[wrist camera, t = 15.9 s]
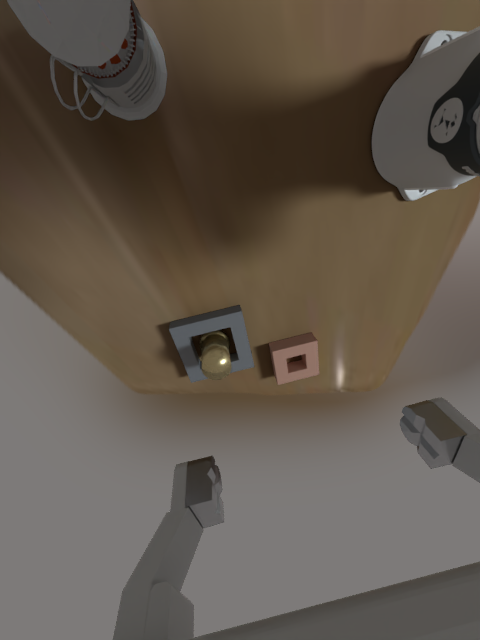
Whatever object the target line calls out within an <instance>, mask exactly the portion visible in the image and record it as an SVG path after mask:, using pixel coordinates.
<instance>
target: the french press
mask: <svg viewBox="0 0 480 640" xmlns="http://www.w3.org/2000/svg"><path fill="white" fill-rule="evenodd" d="M7 1H8V4H9V6H10V7H11V9H12V10H13V11H14V13H15V14H16V16H17V17H18V19H19V20H20V22H21V23H22V25H23V26H24V28H25V29H26V30H27V32H28V33H29V35H30V36H31V37H32V38H33V39H35V40H36V41H37V42H38V43H39V44H40V45H41V46H43V47H44V48H45V49H46V50H47V51H48V52H49V53H51V54H52V55H51V57H50V70H51V79H52V83H53V86H54V90H55V93H56V95H57V97H58V99H59V101H60V102H61V104H62V105H63V106H64V107H66V108H68V109H69V110H75V109H78V110H79V111H80V113H81V115H82V116H83V117H84V118H85V119H87V120H90V121H93V120H95V119H97V118H99V117H100V115H101V114H102V112H103V111H104V109H106V110H107V111H108V112H109V113H110V114H112V115H114V116H117V117H120V118H122V119H125V120H128V121H130V120H140V119H145V118H146V117H148V116H149V115H150V114H152V113H153V112H155V111H156V110H157V109H158V107H159V105H160V103H161V101H162V99H163V97H164V95H165V90H166V82H167V69H166V64H165V58H164V53H163V50H162V48H161V46H160V44H159V42H158V40H157V38H156V36H155V34H154V31H153V29H152V28H151V27H150V26H149V25H148V24H147V23H146V22H145V21H144V20H143V19H142V18H141V16H140V13H139V11H138V9H137V7H136V5H135V3H134V1H133V0H7ZM55 59H56V60H58V61H59V62H60V63H62V64H63V65H65V66H66V67H68V68H69V69H71V70H72V71H74V95H75V99H76V103H77V106H73V107H71V106H69V105H67V104H65V103H64V101H63V100H62V98H61V96H60V94H59V92H58V90H57V86H56V82H55V73H54V61H55ZM65 61H66V62H65ZM78 75H80V76H81V77H82V80H83V82H84V84H85V85H86V87H87V88H88V90H87V92H86V94H85V96H84V98H83V99H82V101H81V103H79V98H78V93H77V76H78ZM89 93H91V95H92V96H93V98H94V99H95V101H96V102H97V103H99V104H100V105H101V106H102V107H101V109H100V110H99V112H98V114H97V115H96V116H95V117H87V116H86V115H85V114H84V113H83V111H82V109H81V106H82V105H83V104H84V103H85V102H86V100H87V97H88V95H89Z"/></svg>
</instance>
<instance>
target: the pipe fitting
mask: <svg viewBox="0 0 480 640" xmlns="http://www.w3.org/2000/svg"><path fill="white" fill-rule="evenodd" d="M229 347H230V341H229V337H228V335H227V334H226V333H225V332H224V331H222V330H216V331H212V332H208V333H204V334H202V336H201V338H200V350H201V351H202V373H203V374H204V376H206V377H207V378H209V379H212V380H219V379H223V378H225V377H226V376H228V375H229V373H230V372H231V368H232V366H231V360H230V354H229Z"/></svg>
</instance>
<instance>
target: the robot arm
mask: <svg viewBox="0 0 480 640" xmlns="http://www.w3.org/2000/svg"><path fill="white" fill-rule="evenodd" d="M441 43H442V45H441ZM372 154H373V159H374V163H375V166H376V168H377V170H378V172H379V173H380V175H381V176H382V177H383V178H384V179H385V180H386V181H388V182H389V183H391V184H393V185H395V186H396V187H397V188H398V189H399V191H400V193H401V195H402V197H403V198H404V199H405V200H406V201H413V200H416V199H419V198H421V197H423V196H425V195H428V194H430V193H432V192H434V191H436V190H439V189H453V188H456V187H457V186H458V185H459V184H461V183H464V182H466V181H468V180H470V179H472V178H474V177H476V176H480V26H479V27H477V28H475V29H473V30H471V31H469V32H458V31H444V30H439V31H436V32H434V33H432V34H430V35H429V36H427V38H426V39H425V40H424V42H423V43H422V45H421V47H420V48H419V50H418V52H417V54H416V56H415V58H414V60H413V62H412V64H411V65H410V66H409V67H408V69H407V70H406V71H405V72H404V73H403V74H402V75H401V76H400V77H399V78H398V79H397V81H396V82H395V83H394V84H393V86H392V87H391V88H390V90H389V91H388V93H387V94H386V96H385V98H384V100H383V102H382V104H381V106H380V108H379V111H378V113H377V116H376V119H375V123H374V127H373V133H372ZM419 190H420V191H419ZM402 413H403V414H404V416H403V417H402V418H401V420H400V426H401V430H402V432H403V434H404V436H405V437H406V438H407V440H408V441H409V442H410V443H412V444H414V445H416V446H417V450H418V454H419V455H420V456H421V457H422V459H423V460H424V461H425V462H426V463H427V465H428V466H429V467H430V468H431V469H432V468H436V467H440V466H445V465H450V464H453V466H454V467H456V468H457V469H459V470H461V471H462V472H464V473H465V474H467V475H468V476H470V477H472V478H473V479H475V480H476V481H478V482H479V483H480V430H479V429H478V428H477V427H476V426H475V425H474V424H473V423H471V422H470V421H469V420H468V419H467V418H466V417H464V415H462V414H461V413H460V412H459V411H458V410H457V409H455V407H453V406H452V405H451V404H450V403H449V402H448V401H447V400H445V399H443V398H435V399H431V400H426V401H423V402H419V403H416V404H412V405H409V406H405V407H404V408H403V410H402ZM221 492H222V482H221V475H220V471H219V468H218V466H217V465H215V459H214V457H213V456H209V457H205V458H201V459H197V460H193V461H188V462H184V463H180V464H177V465H176V467H175V470H174V479H173V490H172V500H171V510H170V512H168V513H166V515H165V517H164V518H163V520H162V522H161V524H160V526H159V527H158V529H157V531H156V532H155V534H154V536H153V538H152V540H151V541H150V543H149V545H148V547H147V548H146V550H145V552H144V554H143V556H142V557H141V559H140V561H139V563H138V564H137V566H136V568H135V570H134V571H133V573H132V575H131V577H130V578H129V580H128V582H127V584H126V586H125V587H124V589H123V591H122V596H121V601H120V606H119V611H118V616H117V621H116V626H115V631H114V636H113V640H480V562H477V563H473V564H469V565H465V566H461V567H458V568H454V569H450V570H446V571H443V572H439V573H435V574H431V575H428V576H424V577H420V578H416V579H413V580H409V581H405V582H401V583H397V584H394V585H390V586H387V587H382V588H379V589H375V590H371V591H367V592H364V593H360V594H356V595H352V596H349V597H345V598H342V599H337V600H334V601H330V602H326V603H322V604H319V605H315V606H311V607H308V608H304V609H300V610H296V611H292V612H289V613H285V614H281V615H277V616H274V617H270V618H267V619H262V620H259V621H255V622H252V623H247V624H244V625H240V626H237V627H232V628H229V629H225V630H221V631H218V632H214V633H210V634H206V635H202V636H199V637H195V638H193V631H194V630H193V629H194V605H193V604H192V603H191V601H190V600H188V599H187V598H186V597H185V596H184V595H183V594H182V593H180V590H181V588H182V585H183V582H184V580H185V577H186V575H187V572H188V569H189V567H190V564H191V561H192V559H193V556H194V554H195V551H196V548H197V546H198V543H199V541H200V538H201V535H202V533H203V528H206V527H210V526H213V525H217V524H220V523H223V522H224V510H223V501H222V499H221V498H220V494H221Z"/></svg>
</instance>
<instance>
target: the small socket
mask: <svg viewBox="0 0 480 640" xmlns="http://www.w3.org/2000/svg"><path fill="white" fill-rule="evenodd" d="M269 348H270V353H271V359H272V365H273V370H274V375H275V378H276V381H277V384H278V385H279V384H283V383H287V382H291V381H295V380H299V379H303V378H307V377H311V376H315V375H319V362H318V343H317V339H316V338H315V337H314V335H313V334H312V332H311V333H307V334H303V335H299V336H295V337H291V338H287V339H283V340H279V341H275V342H271V343H269ZM299 355H302V360H298V361H294V362H290V363H287V361H286V359H287V358H291V357H295V356H299Z"/></svg>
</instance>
